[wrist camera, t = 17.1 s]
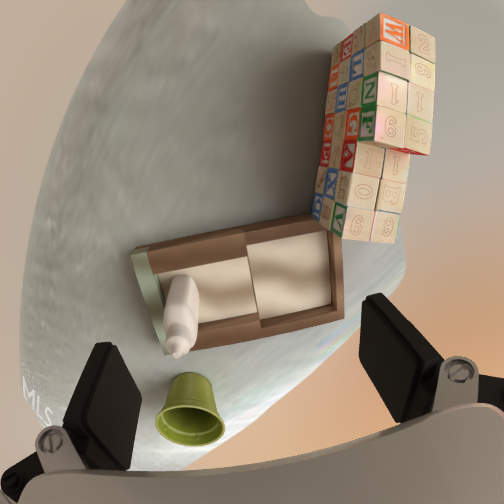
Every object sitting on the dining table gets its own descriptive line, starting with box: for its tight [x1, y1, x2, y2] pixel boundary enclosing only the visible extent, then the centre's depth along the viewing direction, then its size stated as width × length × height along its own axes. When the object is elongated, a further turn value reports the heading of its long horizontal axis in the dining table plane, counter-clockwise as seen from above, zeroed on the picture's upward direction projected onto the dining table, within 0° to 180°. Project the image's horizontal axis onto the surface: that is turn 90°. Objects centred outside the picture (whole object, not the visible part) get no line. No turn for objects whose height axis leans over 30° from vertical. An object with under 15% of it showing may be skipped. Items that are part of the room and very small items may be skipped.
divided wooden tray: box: [130, 213, 344, 355], centre depth 37 cm, size 14×24×3 cm, turn 99°
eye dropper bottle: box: [163, 275, 199, 358], centre depth 31 cm, size 4×6×12 cm
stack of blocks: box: [311, 13, 435, 244], centre depth 27 cm, size 21×6×12 cm, turn 173°
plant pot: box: [155, 373, 225, 446], centre depth 39 cm, size 9×9×9 cm
